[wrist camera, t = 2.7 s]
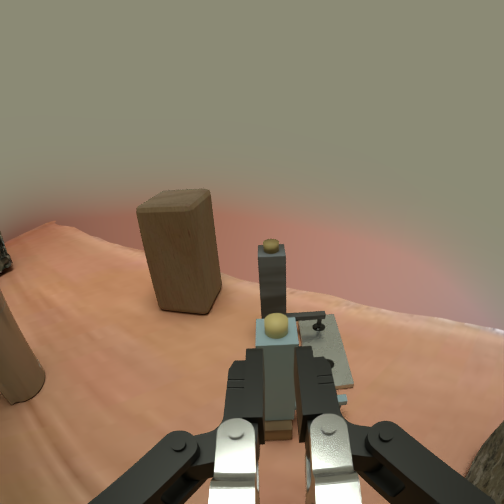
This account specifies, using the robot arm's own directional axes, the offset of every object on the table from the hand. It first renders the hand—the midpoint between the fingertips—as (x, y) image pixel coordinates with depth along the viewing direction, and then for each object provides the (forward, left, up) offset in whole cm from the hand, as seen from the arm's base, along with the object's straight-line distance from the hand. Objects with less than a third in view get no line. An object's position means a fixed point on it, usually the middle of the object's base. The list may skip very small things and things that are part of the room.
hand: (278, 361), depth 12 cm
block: (+24, +32, -22) cm, 46 cm away
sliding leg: (+11, +2, -21) cm, 23 cm away
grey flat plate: (+23, +5, -22) cm, 32 cm away
